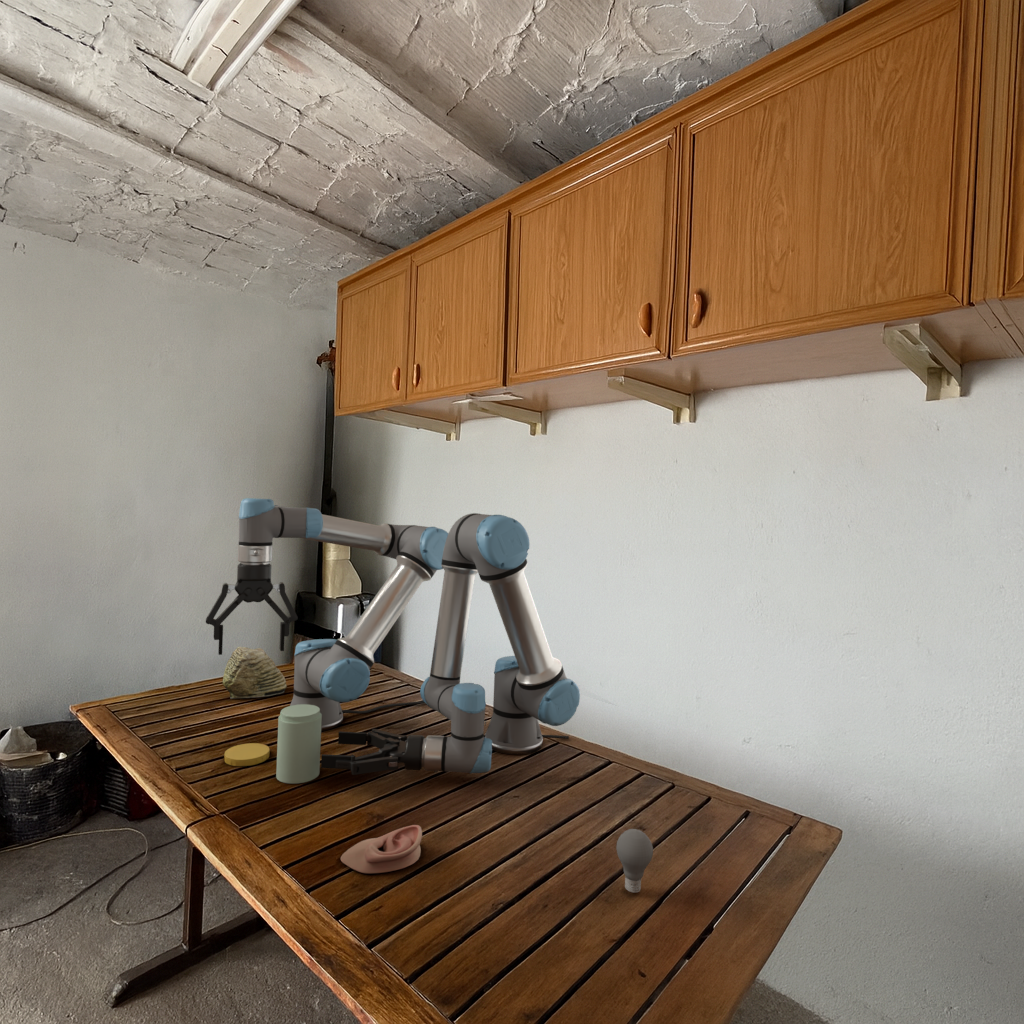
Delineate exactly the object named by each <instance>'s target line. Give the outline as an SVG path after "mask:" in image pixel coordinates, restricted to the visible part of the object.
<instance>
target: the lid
mask: <svg viewBox="0 0 1024 1024" xmlns="http://www.w3.org/2000/svg"><path fill="white" fill-rule="evenodd" d="M270 753H271V750H270V747H269V746H268V745H266V744H263V743H257V742H251V743H250V742H249V743H248V742H247V743H242V744H237V745H234V746H231V747H229V748H228V749H226V750H225V751H224V754H223V761H224V763H225V764H227V765H229V766H233V767H247V766H248V767H250V766H255V765H258V764H261V763H263V762H265V761H267V760H268V759H269V757H270V755H271V754H270Z"/></svg>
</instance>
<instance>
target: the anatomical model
mask: <svg viewBox="0 0 1024 1024" xmlns="http://www.w3.org/2000/svg"><path fill="white" fill-rule="evenodd" d="M422 839H423V830H422V827H421V826H420V825H418V824H412V825H407V826H403V827H400V828H397V829H395V830H392V831H390V832H388V833H386V834H383V835H380V836H379V837H373V838H367V839H364V840H361V841H359V842H357V843H356V844H354V845H352V846H351V847H350V848H348V849H347V850H345V851H344V852H343V853H342V855H341V856H340V861H341V862H342V864H344V865H346V867H348V868H350V869H352V870H354V871H357V872H359V873H362V874H381V873H388V872H393V871H398V870H402V869H405V868H407V867H409V866H411V865H414V864H415V863H416V862H417V861H418V860H419V859H420V857H421V853H422V850H421V842H422Z"/></svg>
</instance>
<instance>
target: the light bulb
mask: <svg viewBox="0 0 1024 1024" xmlns="http://www.w3.org/2000/svg"><path fill="white" fill-rule="evenodd" d="M615 849H616V854H617V857H618V859H619V861H620V863H621V865H622V867H623V873H624V874H623V875H624V876H625V878H624V888H625V890H627V891H628V892H630V893H634V894H635V893H639V892H640V891H641V889H642V887H641V886H642V879H643V877H644V875H645V871H646V868H647V867H648V866H649V864H650V863H651V861H652V859H653V855H654V847H653V843H652V841H651V838H649V836H648V835H647V834H646V833H645V832H643V831H642V830H641V829H636V828H629V829H627V830H625V831H623V832H622V833H621V834H620V835H619V837H618V839H617V841H616V847H615Z"/></svg>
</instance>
